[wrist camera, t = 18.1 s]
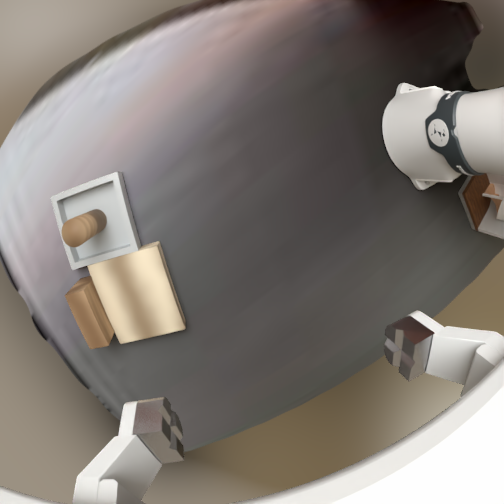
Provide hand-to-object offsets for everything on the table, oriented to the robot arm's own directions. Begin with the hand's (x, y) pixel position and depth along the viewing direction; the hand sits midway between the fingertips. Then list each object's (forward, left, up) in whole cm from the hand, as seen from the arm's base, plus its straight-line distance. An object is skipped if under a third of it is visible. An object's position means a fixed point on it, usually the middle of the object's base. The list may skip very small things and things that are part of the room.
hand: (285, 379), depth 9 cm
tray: (+15, -5, -29) cm, 33 cm away
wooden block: (+19, +6, -29) cm, 35 cm away
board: (+12, +6, -30) cm, 33 cm away
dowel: (+15, -5, -28) cm, 33 cm away
